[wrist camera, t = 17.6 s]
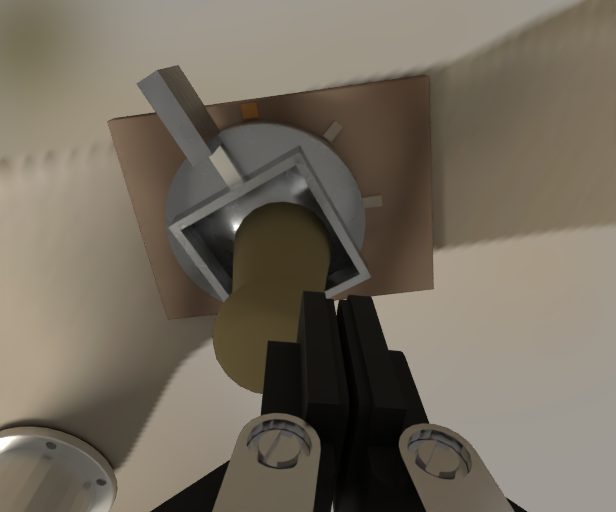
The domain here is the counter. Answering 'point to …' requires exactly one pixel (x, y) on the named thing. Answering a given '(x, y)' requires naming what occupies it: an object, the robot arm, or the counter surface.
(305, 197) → the grey handled box
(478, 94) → the counter surface
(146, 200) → the board
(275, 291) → the cork
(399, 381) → the robot arm
